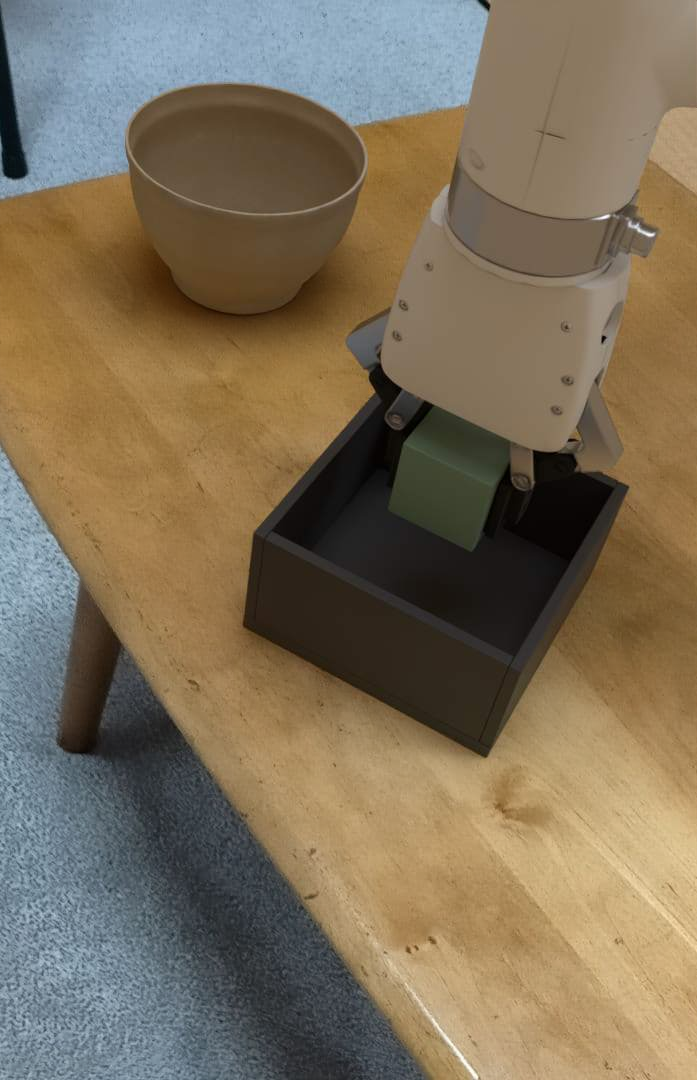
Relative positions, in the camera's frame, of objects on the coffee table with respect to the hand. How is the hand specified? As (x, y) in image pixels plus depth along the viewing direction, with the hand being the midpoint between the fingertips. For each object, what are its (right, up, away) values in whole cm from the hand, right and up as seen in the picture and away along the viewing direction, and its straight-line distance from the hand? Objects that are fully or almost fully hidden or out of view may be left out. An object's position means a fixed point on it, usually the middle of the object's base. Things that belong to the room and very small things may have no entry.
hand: (451, 494), depth 66 cm
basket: (-1, -6, +7) cm, 9 cm away
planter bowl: (-14, +17, +25) cm, 33 cm away
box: (0, 0, 0) cm, 1 cm away
